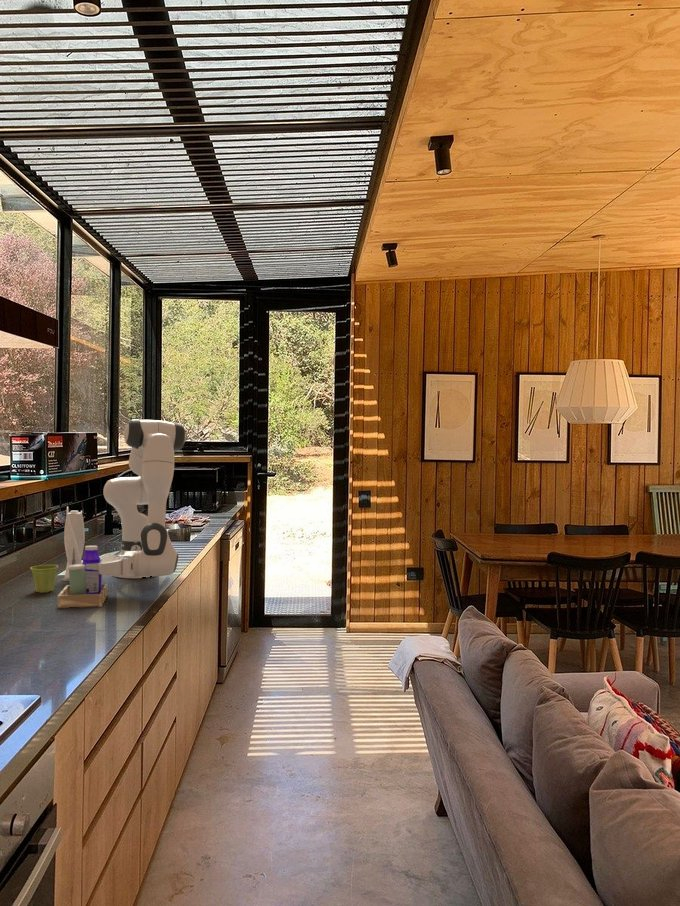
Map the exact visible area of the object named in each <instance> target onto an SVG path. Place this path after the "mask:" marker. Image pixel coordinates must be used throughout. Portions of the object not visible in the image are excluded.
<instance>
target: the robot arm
mask: <svg viewBox="0 0 680 906" xmlns="http://www.w3.org/2000/svg"><path fill="white" fill-rule="evenodd" d="M123 438H124V442H125V444H126V445H127V446H129V447H130V449H131V450H130V453H129V459H128V467H129V469H130V471H132V472H133V474H135V475H137V476H125V477H124V476H120V477H115V478H112V479H109V480H107V481H106V483H105V484H104V486H103V493H102V494H103V497H104V499H105V501H106V502H107V504H109V505H111V506H112V507H113V508H114V509H115V511H116V512H117V514H118V516H119V519H120V522H121V533H122V535H121V536H122V539H121V542H120V549H121V551H120V552H119V553H118V554H106V555H104V557H103V558H100V561H99V562H100V563H97V564H92V563H87V564H86V569H92V570H99V574H101V575H102V576H111V577H114V578H115V577H116V578H122V579H143V578H142V577H146V578H150V576H152V577H165V576H166V577H167V576H170V575H173V574H174V573H175V572H176V570H177V568H178V563H179V553H178V551H177V550H176V548H175V547H174V545H173V544H172V540H171V539H170V535H169V533H168V531H167V528H166V516H167V500H168V497H169V495H170V490H171V487H172V482H173V478H174V472H175V452H177V451H180V450H182V448H183V447H184V445H185V443H186V438H187V436H186V430H185V427H184V426H183V425H182V424H180V423H177V422H170V421H167V420H166V421H165V420H158V419H155V420H154V419H139V418H136V419H135V418H133V419H130V420H129V421H128V422H127V423H126V425H125V427H124V431H123ZM141 505H147V515H146V514H145V513H142V512H140V511H139V510H138V506H141Z"/></svg>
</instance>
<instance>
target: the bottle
mask: <svg viewBox="0 0 680 906" xmlns="http://www.w3.org/2000/svg"><path fill="white" fill-rule="evenodd" d="M98 546H99V545H84V555H83V557H81V561H82V564H84V565H85V579H86V594H100V592H101V591H102V584H103V575H101V574H99V570H92V569H86V564H87V563H92V564H97V563H100V562H99V561H100V559H101V557H100V555H99V551H98V549H99V547H98Z"/></svg>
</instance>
